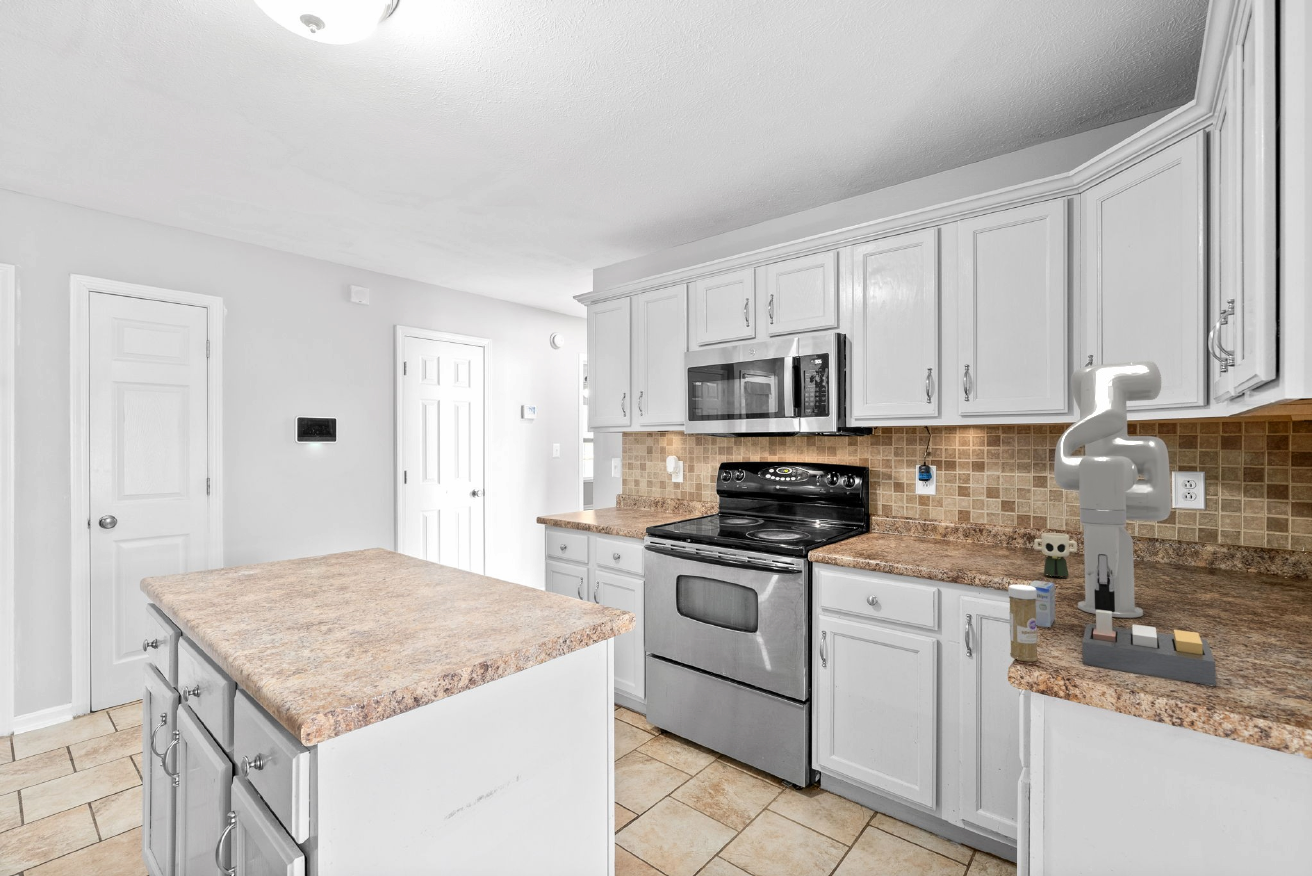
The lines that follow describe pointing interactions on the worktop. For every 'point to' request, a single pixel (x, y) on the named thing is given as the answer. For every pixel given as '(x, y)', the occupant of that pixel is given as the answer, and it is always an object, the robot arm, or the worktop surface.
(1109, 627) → the slider lever
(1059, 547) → the character mug
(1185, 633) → the amber button
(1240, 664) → the worktop surface
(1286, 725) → the worktop surface
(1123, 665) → the control panel
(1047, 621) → the medicine box
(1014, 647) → the sprinkles bottle
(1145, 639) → the white button
